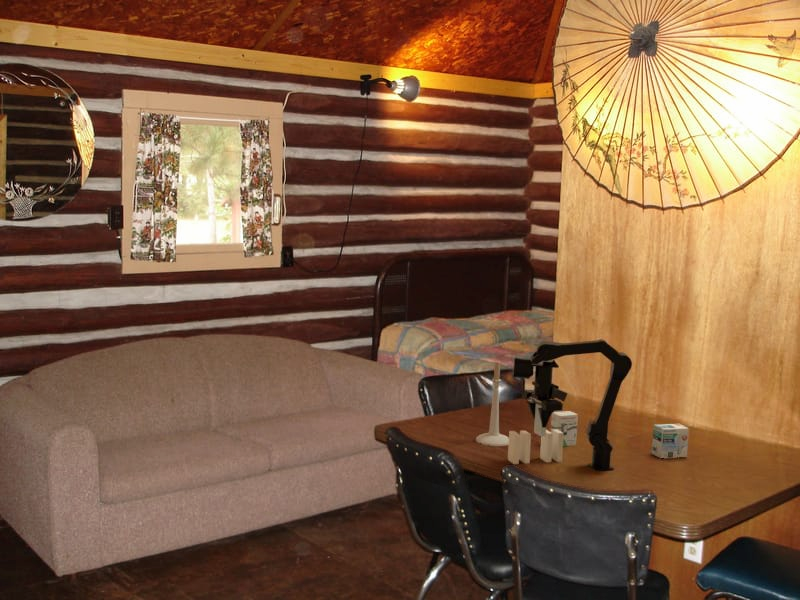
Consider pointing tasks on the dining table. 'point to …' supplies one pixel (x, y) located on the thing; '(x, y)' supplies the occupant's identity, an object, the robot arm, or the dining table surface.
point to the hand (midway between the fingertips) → (540, 425)
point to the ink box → (566, 426)
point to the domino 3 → (538, 422)
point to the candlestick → (494, 417)
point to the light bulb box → (670, 440)
